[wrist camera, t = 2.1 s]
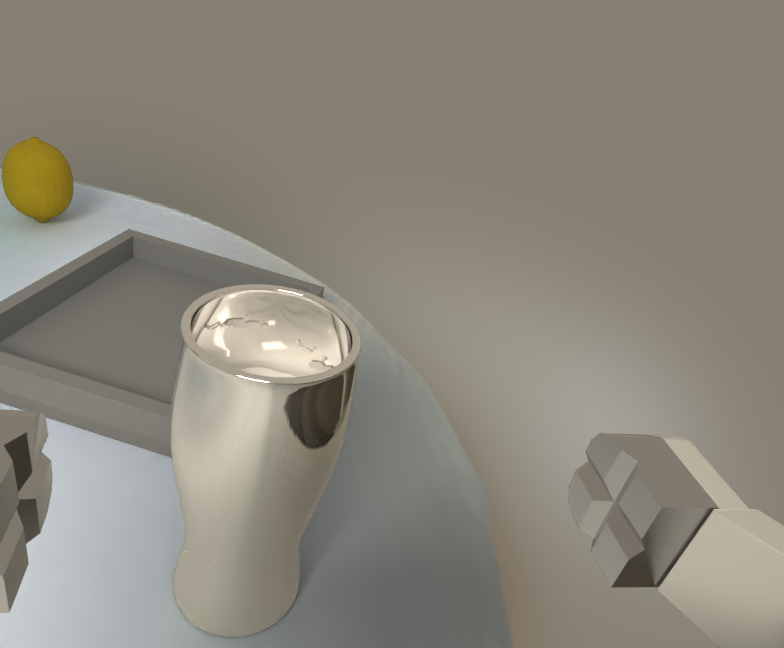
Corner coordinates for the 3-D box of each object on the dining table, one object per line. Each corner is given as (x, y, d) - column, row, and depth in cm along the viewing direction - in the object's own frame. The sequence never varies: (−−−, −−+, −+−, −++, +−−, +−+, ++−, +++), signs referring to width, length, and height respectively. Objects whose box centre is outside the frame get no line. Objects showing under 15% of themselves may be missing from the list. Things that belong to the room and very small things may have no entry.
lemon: (59, 239, 53) (53, 152, 49) (-6, 227, 52) (-18, 138, 48) (85, 217, 58) (82, 136, 54) (26, 205, 57) (18, 123, 53)
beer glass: (211, 504, 33) (235, 264, 25) (327, 550, 32) (388, 316, 24) (130, 612, 27) (130, 340, 19) (271, 673, 26) (328, 413, 18)
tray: (-62, 382, 36) (-71, 341, 34) (128, 259, 53) (128, 229, 51) (216, 471, 35) (220, 434, 33) (318, 316, 52) (324, 287, 50)
